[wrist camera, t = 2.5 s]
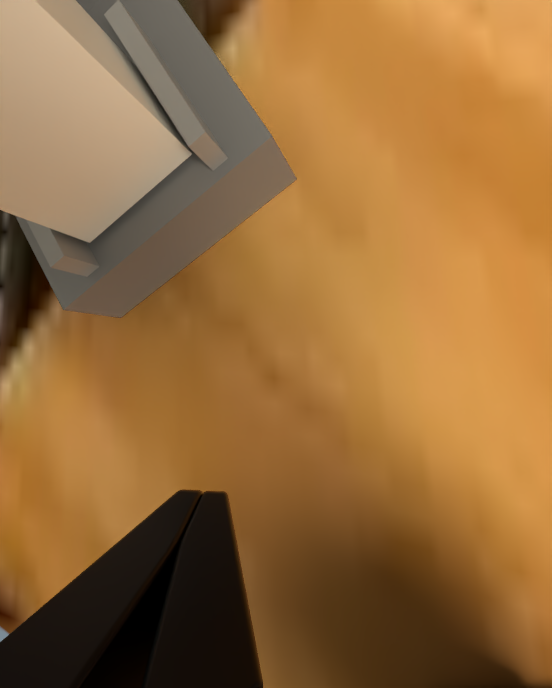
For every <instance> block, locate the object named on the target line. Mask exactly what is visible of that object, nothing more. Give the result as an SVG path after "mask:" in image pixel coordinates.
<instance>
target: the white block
mask: <svg viewBox="0 0 552 688" xmlns="http://www.w3.org/2000/svg"><path fill="white" fill-rule="evenodd" d="M191 155H192V153H191V151H190V150H189V148H188V147H187V145H186V144H185V142H184V140H183V139H182V137H181V136H180V134H179V133H178V131H177V130H176V128H175V126H174V125H173V123H172V122H171V120H170V119H169V117H168V115H167V114H166V112H165V111H164V109H163V108H162V106H161V105H160V103H159V101H158V100H157V98H156V97H155V95H154V94H153V92H152V90H151V89H150V87H149V86H148V84H147V83H146V81H145V80H144V78H143V76H142V75H141V73H140V72H139V70H138V69H137V67H136V66H135V65H134V64H133V63H132V62H131V61H130V59H129V58H128V57H127V56H126V55H125V54H124V53H123V52H122V51H121V50H120V48H119V47H118V46H117V45H116V44H115V43H114V42H113V41H112V40H111V39H110V37H109V36H108V35H107V34H106V33H105V32H104V31H103V30H102V29H101V27H100V26H99V25H98V24H97V23H96V22H95V21H94V20H93V19H92V18H91V16H90V15H89V14H88V13H87V12H86V11H85V10H84V9H83V8H82V7H81V5H80V4H79V3H78V2H77V1H76V0H0V210H2V211H4V212H7V213H10V214H12V215H15V216H18V217H21V218H23V219H26V220H29V221H32V222H34V223H37V224H40V225H42V226H45V227H48V228H51V229H53V230H56V231H59V232H61V233H64V234H67V235H70V236H72V237H75V238H78V239H80V240H83V241H86V242H89V243H90V242H91V241H93V240H94V239H95V238H96V237H97V236H98V235H100V234H101V233H102V232H103V231H104V230H105V229H106V228H108V227H109V226H110V225H111V224H112V223H113V222H115V221H116V220H117V219H118V218H119V217H120V216H121V215H123V214H124V213H125V212H126V211H127V210H128V209H129V208H131V207H132V206H133V205H134V204H135V203H136V202H138V201H139V200H140V199H141V198H142V197H143V196H144V195H146V194H147V193H148V192H149V191H150V190H151V189H153V188H154V187H155V186H156V185H157V184H158V183H159V182H161V181H162V180H163V179H164V178H165V177H166V176H167V175H169V174H170V173H171V172H172V171H173V170H174V169H176V168H177V167H178V166H179V165H180V164H181V163H182V162H184V161H185V160H186V159H187V158H188V157H189V156H191Z"/></svg>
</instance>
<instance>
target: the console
mask: <svg viewBox="0 0 552 688" xmlns="http://www.w3.org/2000/svg"><path fill="white" fill-rule="evenodd" d="M76 1H77V2H78V3H79V4H80V5H81V7H82V8H83V9H84V10H85V11H86V12H87V13H88V14H89V15H90V16H91V18H92V19H93V20H94V21H95V22H96V23H97V24H98V25H99V26H100V27H101V29H102V30H103V31H104V32H105V33H106V34H107V35H108V36H109V37H110V39H111V40H112V41H113V42H114V43H115V44H116V45H117V46H118V47H119V48H120V50H121V51H122V52H123V53H124V54H125V55H126V56H127V57H128V58H129V59H130V61H131V62H132V63H133V64H134V65H135V66H136V67H137V69H138V70H139V72H140V73H141V75H142V76H143V78H144V80H145V81H146V83H147V84H148V86H149V87H150V89H151V90H152V92H153V94H154V95H155V97H156V98H157V100H158V101H159V103H160V105H161V106H162V108H163V109H164V111H165V112H166V114H167V115H168V117H169V119H170V120H171V122H172V123H173V125H174V126H175V128H176V130H177V131H178V133H179V134H180V136H181V137H182V139H183V140H184V142H185V144H186V145H187V147H188V148H189V150H190V151H191V153H192V155H191V156H189V157H188V158H187V159H186V160H185V161H184V162H182V163H181V164H180V165H179V166H178V167H177V168H176V169H174V170H173V171H172V172H171V173H170V174H169V175H167V176H166V177H165V178H164V179H163V180H162V181H161V182H159V183H158V184H157V185H156V186H155V187H154V188H153V189H151V190H150V191H149V192H148V193H147V194H146V195H144V196H143V197H142V198H141V199H140V200H139V201H138V202H136V203H135V204H134V205H133V206H132V207H131V208H129V209H128V210H127V211H126V212H125V213H124V214H123V215H121V216H120V217H119V218H118V219H117V220H116V221H115V222H113V223H112V224H111V225H110V226H109V227H108V228H106V229H105V230H104V231H103V232H102V233H101V234H100V235H98V236H97V237H96V238H95V239H94V240H93V241H91V242H90V243H89V242H86V241H83V240H80V239H78V238H75V237H72V236H70V235H67V234H64V233H61V232H59V231H56V230H53V229H51V228H48V227H45V226H42V225H40V224H37V223H34V222H32V221H29V220H26V219H23V218H21V217H18V216H15V217H16V219H17V220H18V222H19V224H20V226H21V228H22V230H23V232H24V234H25V236H26V238H27V240H28V242H29V244H30V246H31V248H32V250H33V252H34V254H35V256H36V258H37V260H38V262H39V263H40V265H41V267H42V269H43V271H44V273H45V275H46V277H47V279H48V281H49V283H50V285H51V287H52V289H53V291H54V293H55V295H56V297H57V299H58V301H59V303H60V305H61V307H62V308H63V310H68V311H75V312H82V313H89V314H96V315H104V316H111V317H118V318H121V317H122V316H124V315H125V314H126V313H128V312H129V311H130V310H131V309H133V308H134V307H135V306H136V305H138V304H139V303H140V302H142V301H143V300H144V299H145V298H147V297H148V296H149V295H150V294H152V293H153V292H154V291H155V290H157V289H158V288H159V287H161V286H162V285H163V284H164V283H166V282H167V281H168V280H169V279H171V278H172V277H173V276H175V275H176V274H177V273H178V272H180V271H181V270H182V269H183V268H185V267H186V266H187V265H189V264H190V263H191V262H192V261H194V260H195V259H196V258H197V257H199V256H200V255H201V254H202V253H204V252H205V251H206V250H208V249H209V248H210V247H211V246H213V245H214V244H215V243H216V242H218V241H219V240H220V239H222V238H223V237H224V236H225V235H227V234H228V233H229V232H230V231H232V230H233V229H234V228H235V227H237V226H238V225H239V224H241V223H242V222H243V221H244V220H246V219H247V218H248V217H249V216H251V215H252V214H253V213H255V212H256V211H257V210H258V209H260V208H261V207H262V206H263V205H265V204H266V203H267V202H268V201H270V200H271V199H272V198H274V197H275V196H276V195H277V194H279V193H280V192H281V191H282V190H284V189H285V188H286V187H288V186H289V185H290V184H291V183H293V182H294V181H295V180H296V179H297V178H296V177H295V175H294V173H293V171H292V170H291V168H290V166H289V164H288V163H287V161H286V159H285V158H284V156H283V154H282V152H281V151H280V149H279V147H278V145H277V144H276V142H275V140H274V138H273V137H272V135H271V134H270V132H269V131H268V129H267V128H266V127H265V125H264V124H263V122H262V121H261V119H260V118H259V117H258V115H257V114H256V112H255V111H254V109H253V108H252V107H251V105H250V104H249V102H248V101H247V99H246V98H245V96H244V95H243V94H242V92H241V91H240V89H239V88H238V86H237V85H236V84H235V82H234V81H233V79H232V78H231V76H230V75H229V73H228V72H227V71H226V69H225V68H224V66H223V65H222V63H221V62H220V61H219V59H218V58H217V56H216V55H215V53H214V52H213V51H212V49H211V48H210V46H209V45H208V43H207V42H206V40H205V39H204V38H203V36H202V35H201V33H200V32H199V30H198V29H197V28H196V26H195V25H194V23H193V22H192V20H191V19H190V18H189V16H188V15H187V13H186V12H185V10H184V9H183V7H182V6H181V5H180V3H179V2H178V0H76Z"/></svg>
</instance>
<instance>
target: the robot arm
mask: <svg viewBox="0 0 552 688" xmlns="http://www.w3.org/2000/svg"><path fill="white" fill-rule="evenodd" d="M0 688H263V680H262V674H261V669H260V664H259V658H258V653H257V648H256V642H255V637H254V632H253V626H252V621H251V616H250V610H249V605H248V600H247V594H246V589H245V584H244V578H243V573H242V568H241V562H240V557H239V552H238V546H237V541H236V536H235V530H234V525H233V520H232V514H231V509H230V504H229V498H228V494H227V493H226V492H221V491H206V492H204V493H203V492H202V491H200V490H180V491H178V492H176V493H175V494H174V495H173V496H172V497H170V498H169V499H168V500H167V501H166V502H165V503H163V504H162V505H161V506H160V507H159V508H157V509H156V510H155V511H154V512H153V513H152V514H150V515H149V516H148V517H147V518H146V519H145V520H143V521H142V522H141V523H140V524H139V525H138V526H136V527H135V528H134V529H133V530H132V531H130V532H129V533H128V534H127V535H126V536H125V537H123V538H122V539H121V540H120V541H119V542H118V543H116V544H115V545H114V546H113V547H112V548H110V549H109V550H108V551H107V552H106V553H105V554H103V555H102V556H101V557H100V558H99V559H98V560H96V561H95V562H94V563H93V564H92V565H90V566H89V567H88V568H87V569H86V570H85V571H83V572H82V573H81V574H80V575H79V576H78V577H76V578H75V579H74V580H73V581H72V582H70V583H69V584H68V585H67V586H66V587H65V588H63V589H62V590H61V591H60V592H59V593H58V594H56V595H55V596H54V597H53V598H52V599H50V600H49V601H48V602H47V603H46V604H45V605H43V606H42V607H41V608H40V609H39V610H38V611H36V612H35V613H34V614H33V615H32V616H30V617H29V618H28V619H27V620H26V621H25V622H23V623H22V624H21V625H20V626H19V627H18V628H16V629H15V630H14V631H13V632H12V633H10V634H9V635H8V636H7V637H6V638H5V639H3V640H2V641H1V642H0Z"/></svg>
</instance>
